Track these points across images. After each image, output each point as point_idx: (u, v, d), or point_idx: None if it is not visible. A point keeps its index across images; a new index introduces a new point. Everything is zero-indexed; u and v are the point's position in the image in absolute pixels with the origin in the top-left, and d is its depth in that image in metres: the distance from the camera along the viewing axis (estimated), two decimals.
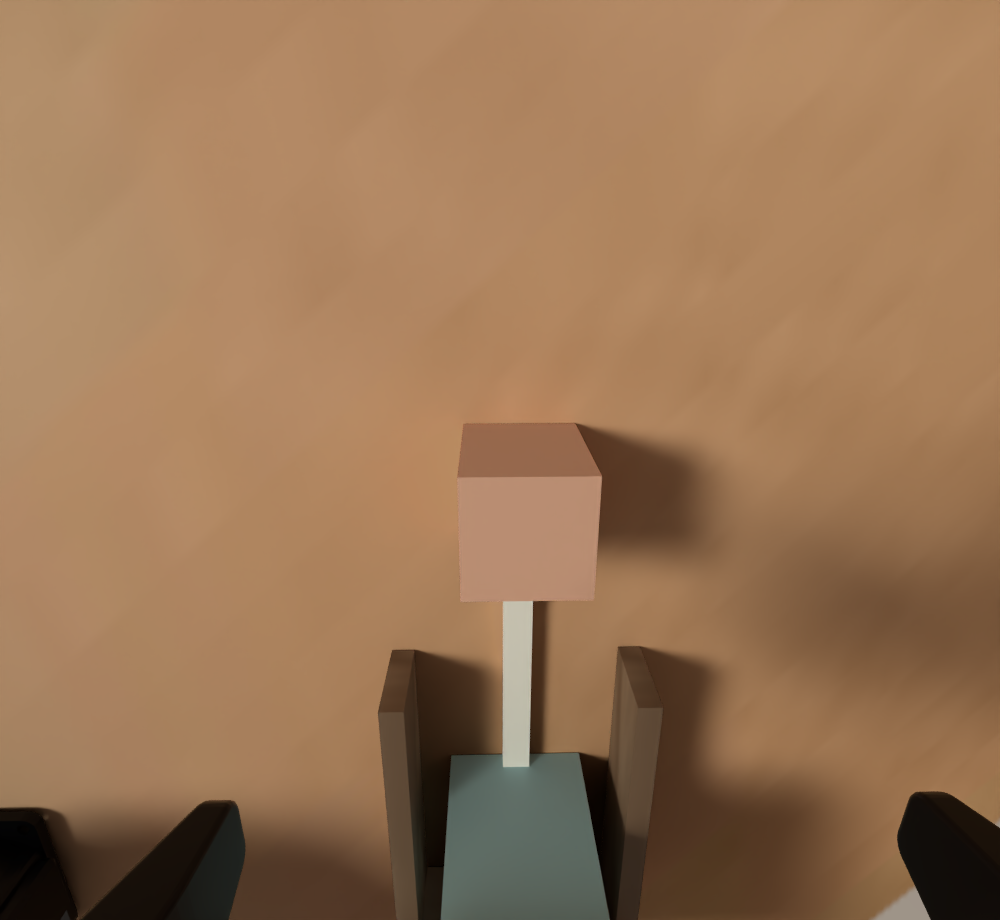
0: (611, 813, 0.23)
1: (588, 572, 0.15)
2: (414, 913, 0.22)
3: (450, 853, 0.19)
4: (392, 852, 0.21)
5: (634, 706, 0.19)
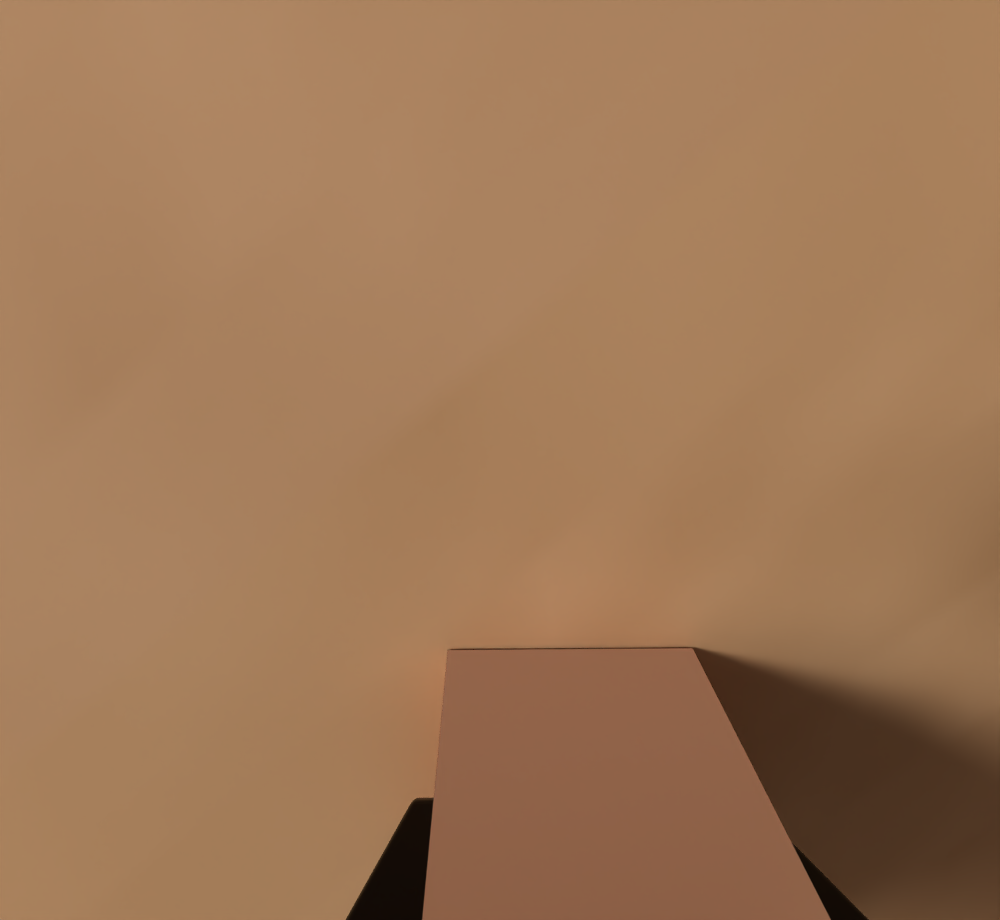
0: None
1: None
2: None
3: None
4: None
5: None
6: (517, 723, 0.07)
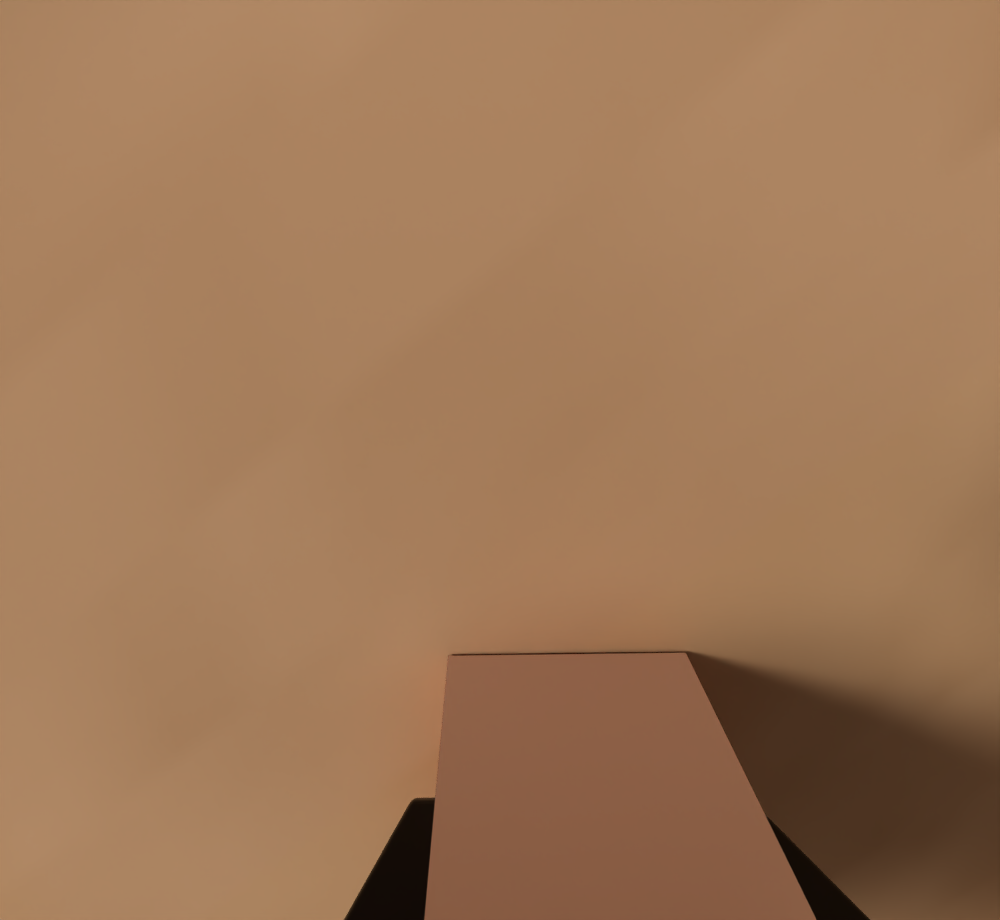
0: None
1: None
2: None
3: None
4: None
5: None
6: (515, 727, 0.07)
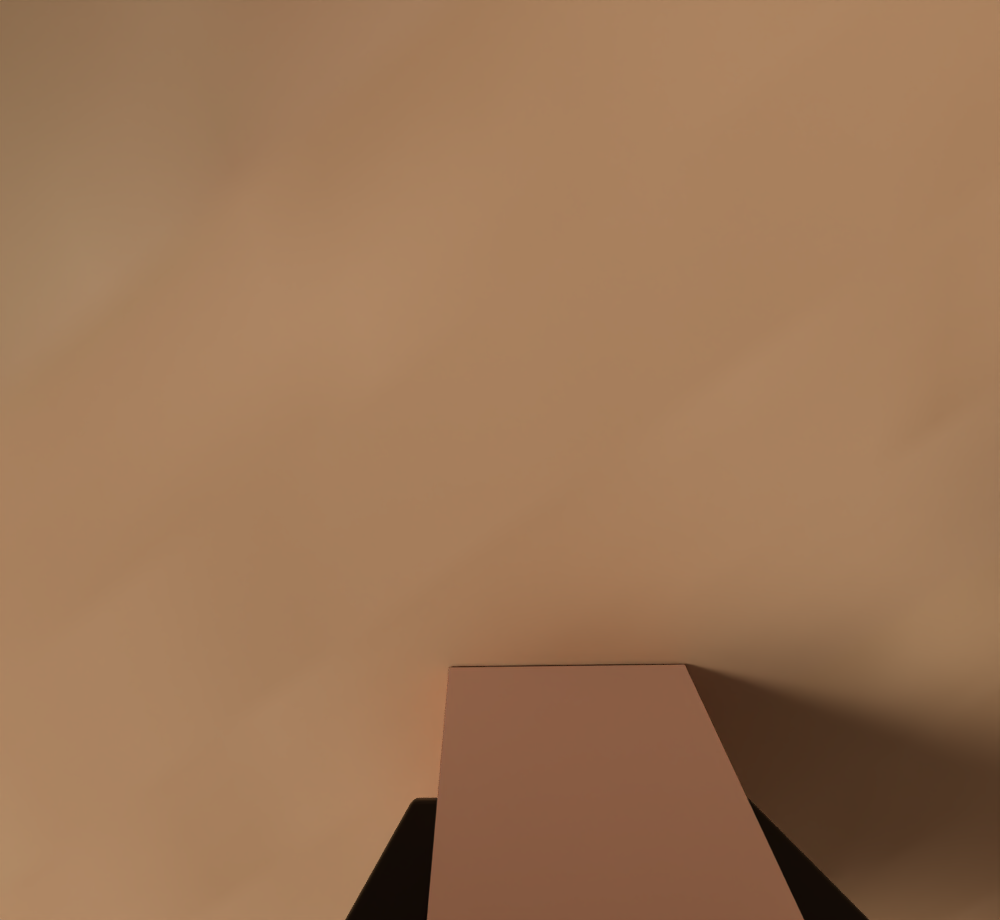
0: None
1: None
2: None
3: None
4: None
5: None
6: (515, 740, 0.07)
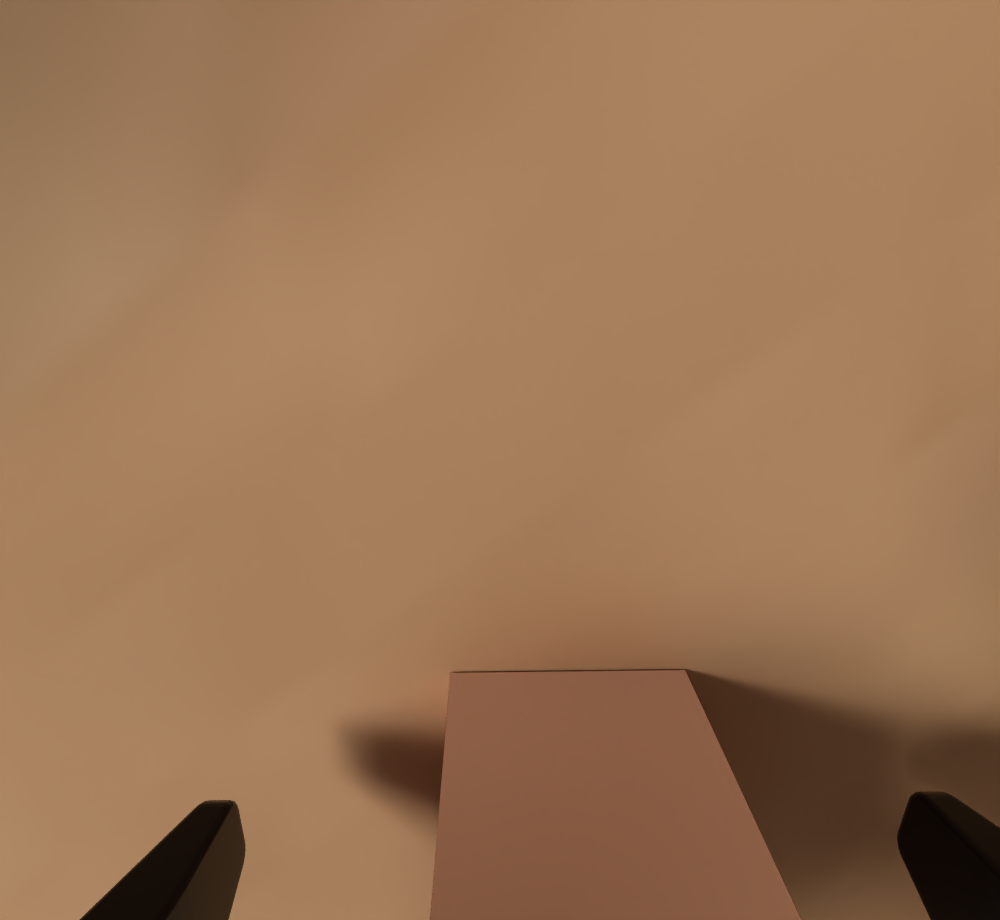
0: None
1: None
2: None
3: None
4: None
5: None
6: (517, 746, 0.07)
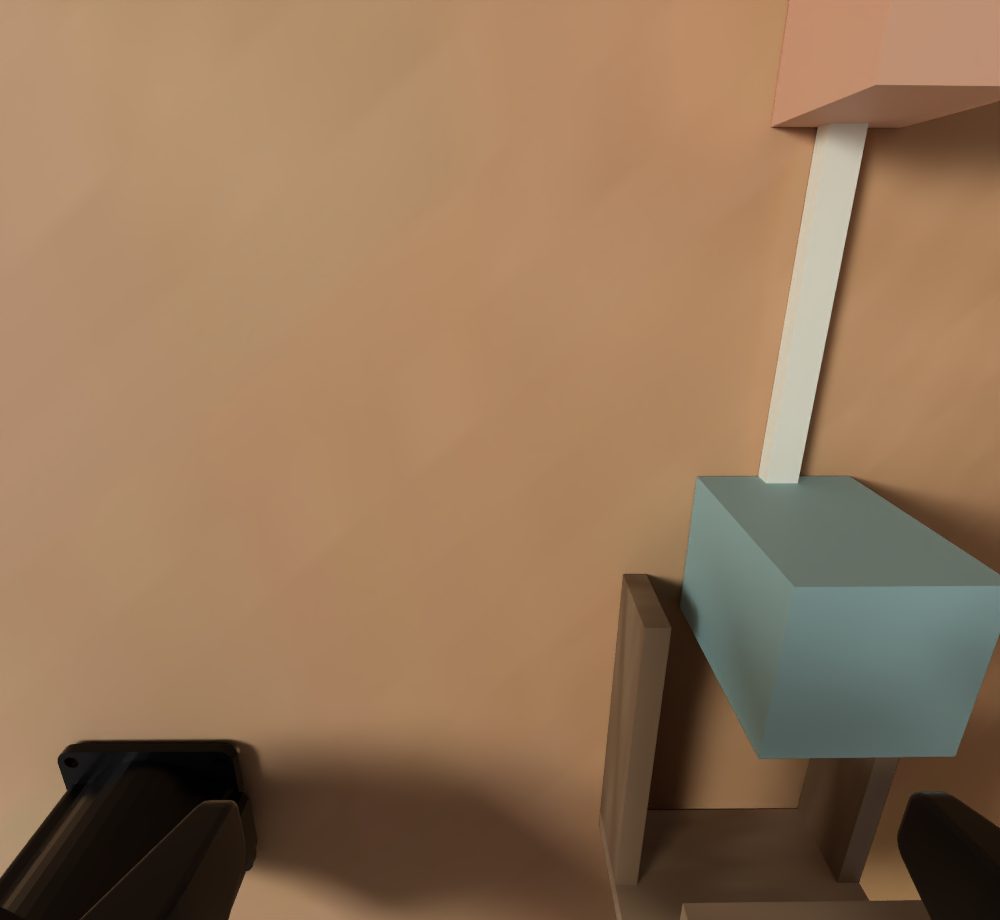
0: None
1: None
2: (638, 849, 0.21)
3: (753, 532, 0.15)
4: (629, 782, 0.20)
5: None
6: None
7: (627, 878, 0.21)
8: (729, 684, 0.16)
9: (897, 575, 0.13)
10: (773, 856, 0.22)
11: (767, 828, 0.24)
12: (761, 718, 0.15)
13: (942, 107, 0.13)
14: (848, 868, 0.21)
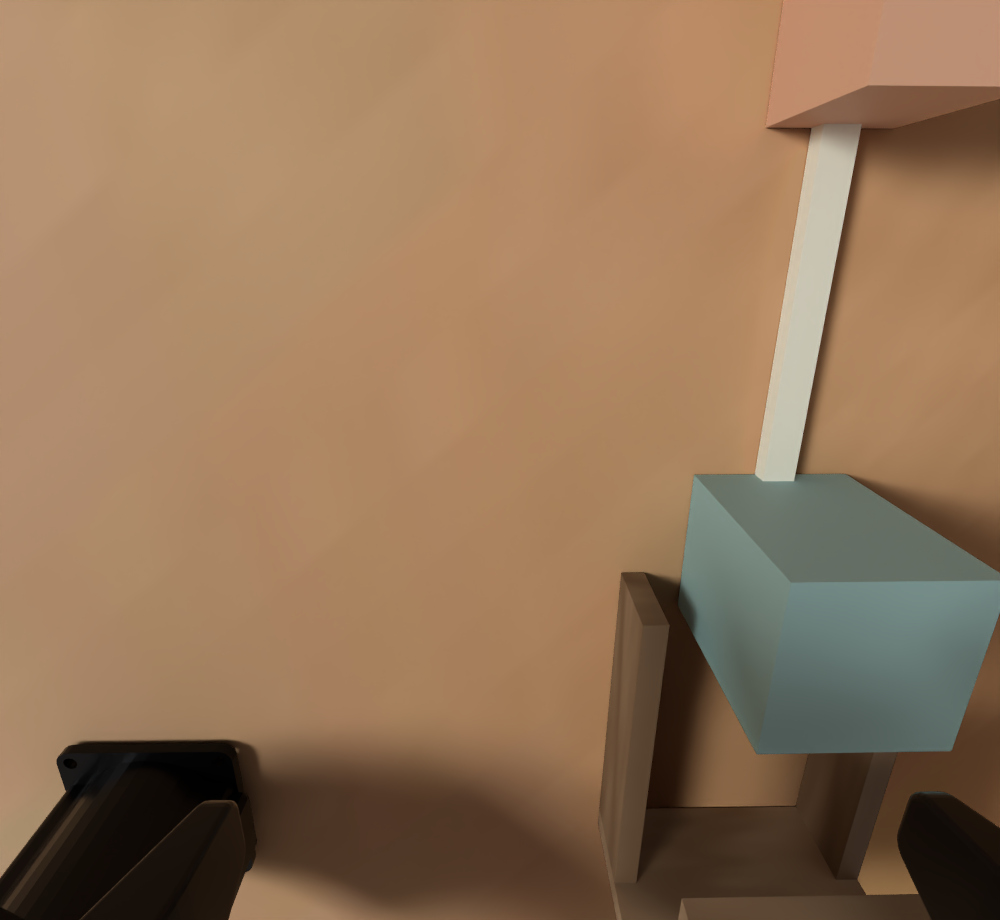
0: None
1: None
2: (637, 847, 0.21)
3: (750, 529, 0.16)
4: (628, 780, 0.20)
5: None
6: None
7: (626, 876, 0.21)
8: (727, 681, 0.17)
9: (892, 571, 0.14)
10: (772, 854, 0.23)
11: (766, 826, 0.24)
12: (759, 714, 0.15)
13: (934, 107, 0.13)
14: (846, 865, 0.21)
